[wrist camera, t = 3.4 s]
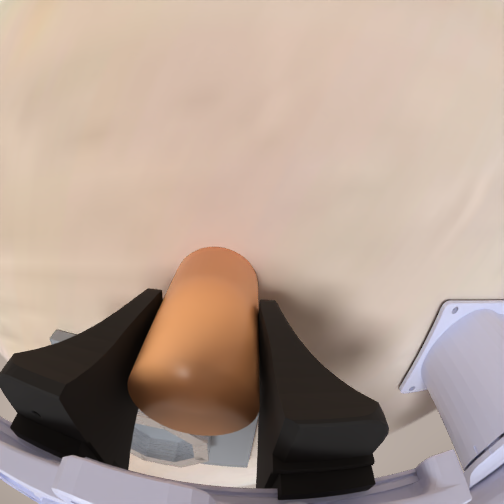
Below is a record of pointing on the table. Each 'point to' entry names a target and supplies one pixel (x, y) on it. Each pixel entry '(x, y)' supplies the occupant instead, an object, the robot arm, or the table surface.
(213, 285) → the plug
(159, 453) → the ring socket
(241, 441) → the base plate
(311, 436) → the robot arm
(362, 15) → the table surface
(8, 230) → the table surface
